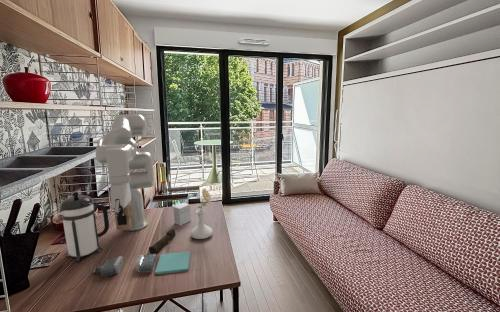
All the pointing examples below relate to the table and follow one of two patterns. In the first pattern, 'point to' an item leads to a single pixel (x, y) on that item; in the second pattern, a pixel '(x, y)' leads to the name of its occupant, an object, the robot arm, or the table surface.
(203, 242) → the table surface
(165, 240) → the brown wooden branch
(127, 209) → the wooden block
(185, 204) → the small box
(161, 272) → the mat
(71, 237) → the coffee press
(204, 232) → the flower in vase
